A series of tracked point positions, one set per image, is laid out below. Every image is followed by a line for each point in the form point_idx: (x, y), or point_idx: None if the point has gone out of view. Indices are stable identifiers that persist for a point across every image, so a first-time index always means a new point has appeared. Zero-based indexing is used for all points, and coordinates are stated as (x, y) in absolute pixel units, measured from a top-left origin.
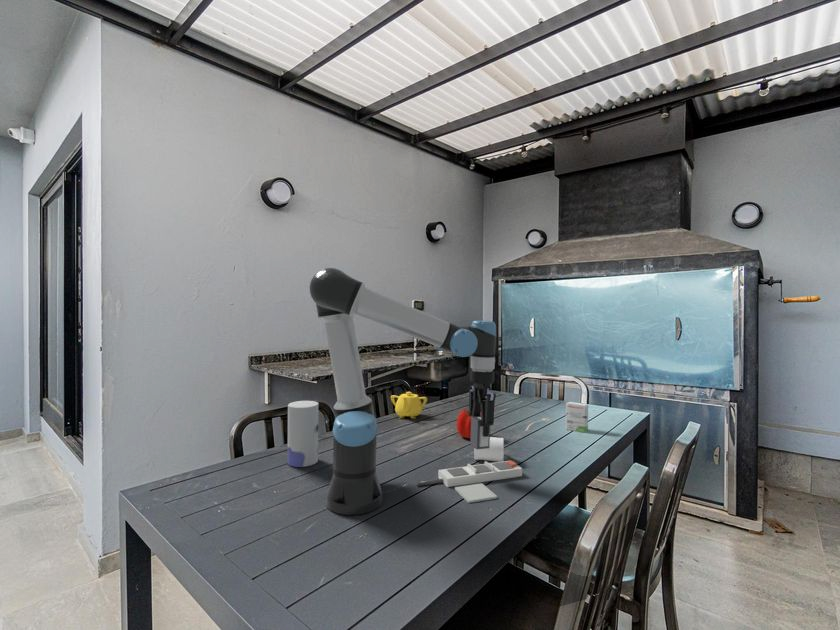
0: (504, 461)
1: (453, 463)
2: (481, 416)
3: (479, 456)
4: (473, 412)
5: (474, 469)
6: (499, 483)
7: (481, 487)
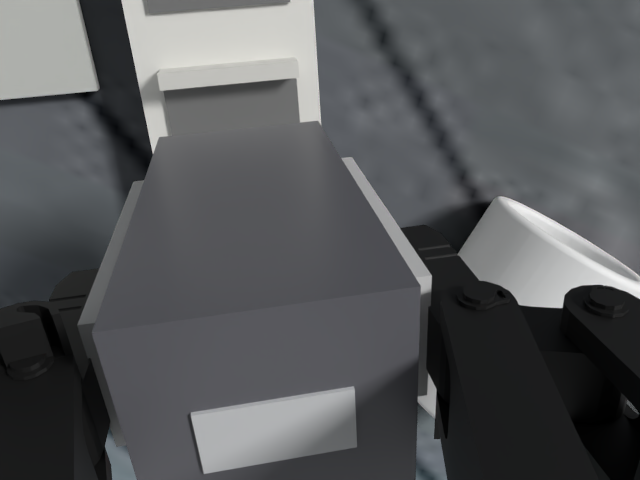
0: None
1: (512, 28)
2: (57, 473)
3: (476, 228)
4: (483, 393)
5: (166, 73)
6: (119, 214)
7: (21, 57)
